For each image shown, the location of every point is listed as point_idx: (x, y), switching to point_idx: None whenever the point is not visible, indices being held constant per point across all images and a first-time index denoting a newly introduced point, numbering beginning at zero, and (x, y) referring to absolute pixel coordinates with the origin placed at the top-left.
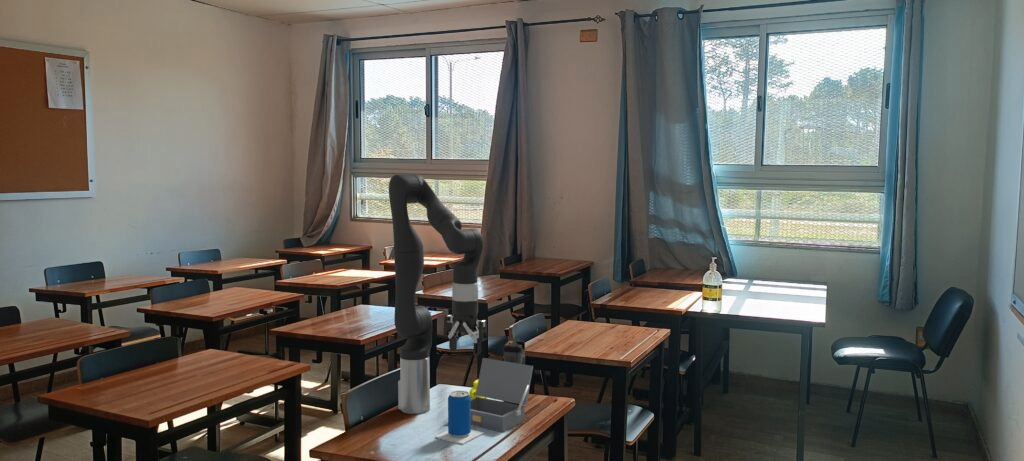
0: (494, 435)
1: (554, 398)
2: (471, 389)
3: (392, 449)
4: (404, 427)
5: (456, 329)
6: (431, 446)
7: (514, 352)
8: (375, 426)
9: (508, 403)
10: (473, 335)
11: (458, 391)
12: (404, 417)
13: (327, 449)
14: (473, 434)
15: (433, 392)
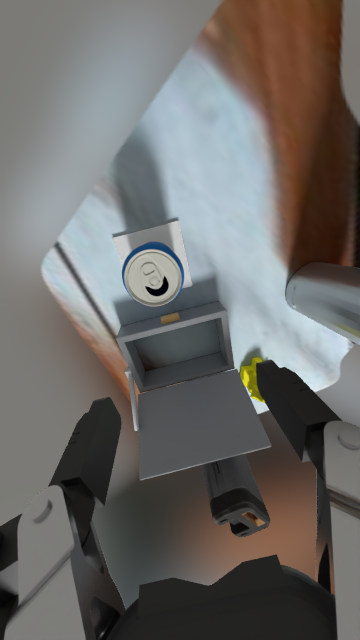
0: (118, 308)
1: None
2: None
3: (188, 89)
4: (264, 212)
5: (334, 612)
6: (145, 180)
7: (218, 496)
8: (317, 166)
9: (169, 383)
10: (30, 593)
11: (175, 293)
12: (300, 248)
13: None
14: None
15: (334, 354)
